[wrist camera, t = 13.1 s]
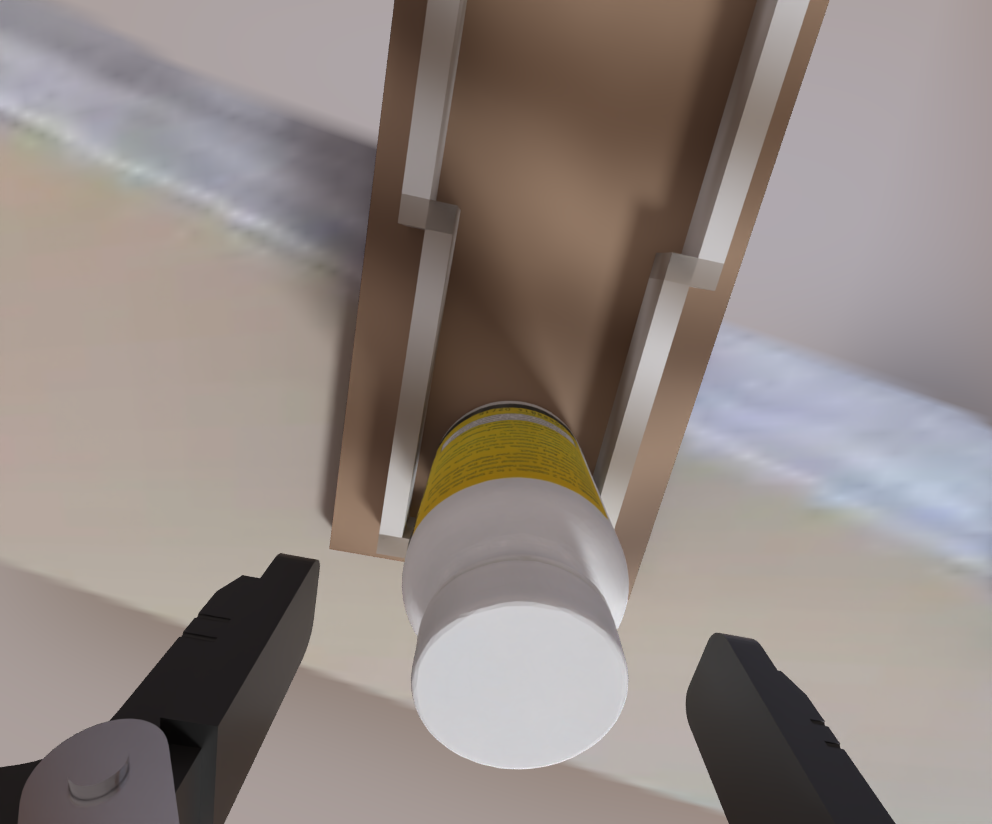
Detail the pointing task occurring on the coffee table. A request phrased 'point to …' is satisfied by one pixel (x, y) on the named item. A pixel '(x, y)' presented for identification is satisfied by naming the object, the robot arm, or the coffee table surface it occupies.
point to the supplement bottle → (515, 593)
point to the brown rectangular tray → (558, 233)
